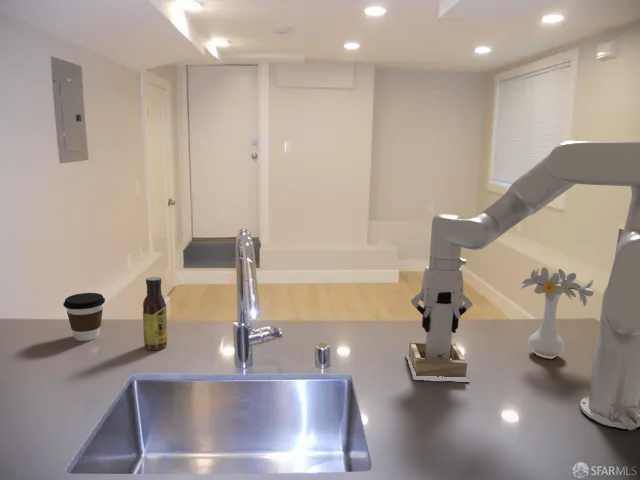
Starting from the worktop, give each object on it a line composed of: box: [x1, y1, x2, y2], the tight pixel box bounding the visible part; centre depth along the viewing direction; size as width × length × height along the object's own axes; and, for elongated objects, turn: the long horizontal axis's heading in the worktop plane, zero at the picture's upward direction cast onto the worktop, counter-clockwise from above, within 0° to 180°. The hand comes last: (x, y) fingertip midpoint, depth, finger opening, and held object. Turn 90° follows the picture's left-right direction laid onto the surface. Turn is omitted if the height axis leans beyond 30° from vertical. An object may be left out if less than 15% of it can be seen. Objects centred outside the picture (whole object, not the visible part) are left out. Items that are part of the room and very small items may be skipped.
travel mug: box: [425, 291, 454, 360], centre depth 131 cm, size 6×7×20 cm
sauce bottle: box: [142, 276, 168, 351], centre depth 140 cm, size 6×6×20 cm
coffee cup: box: [63, 292, 106, 342], centre depth 146 cm, size 11×11×12 cm
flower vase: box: [520, 266, 594, 356], centre depth 142 cm, size 13×18×25 cm
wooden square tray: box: [408, 340, 468, 377], centre depth 133 cm, size 14×14×5 cm
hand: (439, 330), depth 131 cm, fingers closed on travel mug, 6 cm apart
